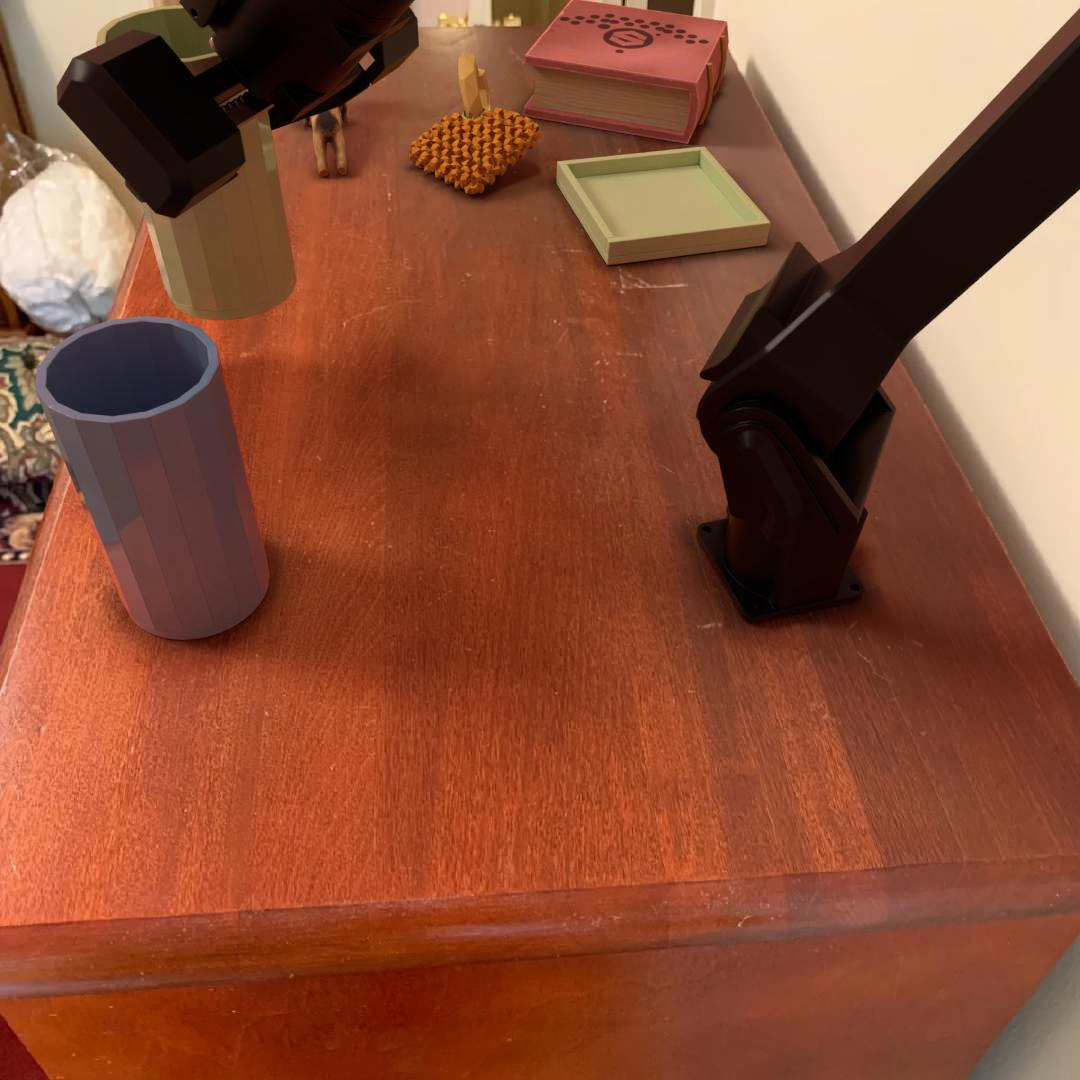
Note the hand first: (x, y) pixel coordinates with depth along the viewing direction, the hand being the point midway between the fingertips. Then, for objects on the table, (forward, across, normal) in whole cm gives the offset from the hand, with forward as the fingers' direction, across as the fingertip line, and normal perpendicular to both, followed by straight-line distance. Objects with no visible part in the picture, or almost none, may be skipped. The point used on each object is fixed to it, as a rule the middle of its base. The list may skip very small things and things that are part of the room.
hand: (184, 161), depth 50 cm
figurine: (+19, -30, 0) cm, 35 cm away
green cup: (+4, 0, +6) cm, 7 cm away
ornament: (+10, -33, +9) cm, 35 cm away
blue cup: (+4, +14, +15) cm, 21 cm away
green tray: (-1, -31, +20) cm, 37 cm away
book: (+6, -49, +14) cm, 51 cm away
